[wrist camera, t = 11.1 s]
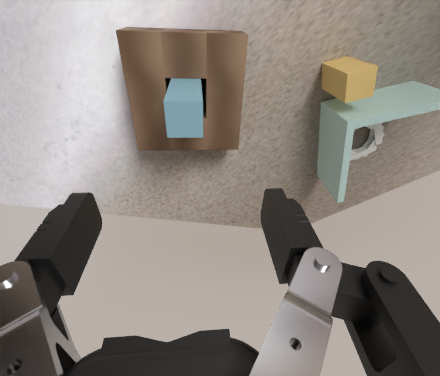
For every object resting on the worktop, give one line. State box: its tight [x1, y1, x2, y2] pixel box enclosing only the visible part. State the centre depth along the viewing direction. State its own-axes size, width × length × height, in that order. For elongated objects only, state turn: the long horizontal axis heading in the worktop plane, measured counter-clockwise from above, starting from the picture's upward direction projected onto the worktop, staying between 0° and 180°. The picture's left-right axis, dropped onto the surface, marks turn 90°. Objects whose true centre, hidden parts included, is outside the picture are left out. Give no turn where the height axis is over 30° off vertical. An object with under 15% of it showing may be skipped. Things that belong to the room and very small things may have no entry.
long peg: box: [163, 78, 203, 138], centre depth 24 cm, size 3×3×12 cm
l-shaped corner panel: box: [317, 81, 440, 203], centre depth 32 cm, size 12×12×8 cm
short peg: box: [321, 56, 378, 103], centre depth 27 cm, size 3×3×6 cm
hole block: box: [116, 27, 248, 150], centre depth 27 cm, size 12×12×4 cm
